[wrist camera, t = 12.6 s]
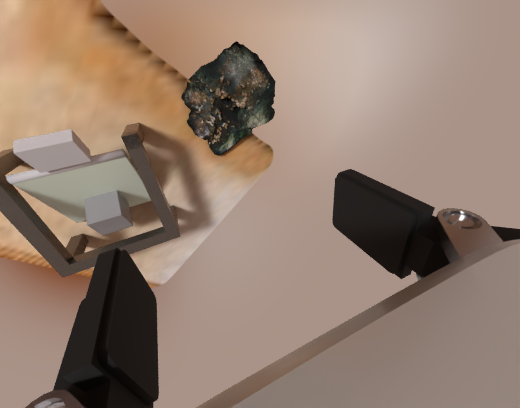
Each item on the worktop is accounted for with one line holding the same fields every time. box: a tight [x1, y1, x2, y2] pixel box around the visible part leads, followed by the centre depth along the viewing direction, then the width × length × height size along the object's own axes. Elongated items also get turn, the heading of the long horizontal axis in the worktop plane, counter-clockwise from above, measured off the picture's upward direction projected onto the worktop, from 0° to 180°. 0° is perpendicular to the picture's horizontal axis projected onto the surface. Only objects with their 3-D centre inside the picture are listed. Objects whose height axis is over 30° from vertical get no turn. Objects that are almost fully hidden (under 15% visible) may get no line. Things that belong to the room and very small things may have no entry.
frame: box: [0, 123, 180, 277], centre depth 38 cm, size 20×20×9 cm
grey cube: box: [84, 190, 133, 235], centre depth 39 cm, size 5×5×5 cm
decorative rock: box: [182, 42, 275, 155], centre depth 41 cm, size 19×6×15 cm
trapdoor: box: [6, 129, 151, 223], centre depth 35 cm, size 19×14×2 cm
